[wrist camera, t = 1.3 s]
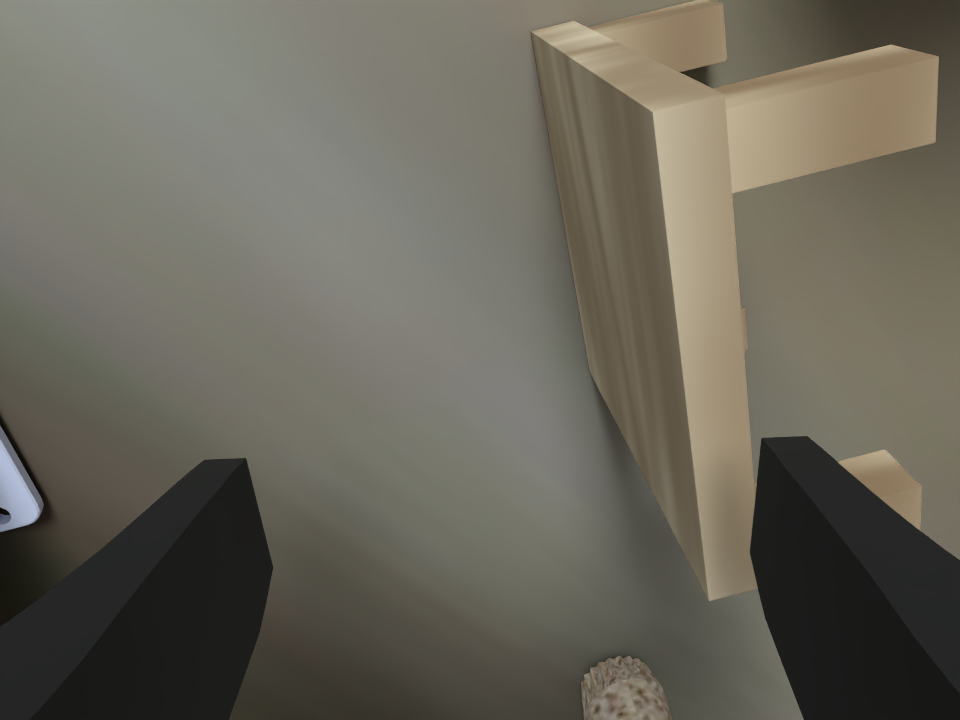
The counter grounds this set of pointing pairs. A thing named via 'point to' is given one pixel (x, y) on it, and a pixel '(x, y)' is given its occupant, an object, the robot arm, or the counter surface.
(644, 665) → the mushroom
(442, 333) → the counter surface
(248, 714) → the counter surface
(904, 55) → the footstool
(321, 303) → the counter surface
